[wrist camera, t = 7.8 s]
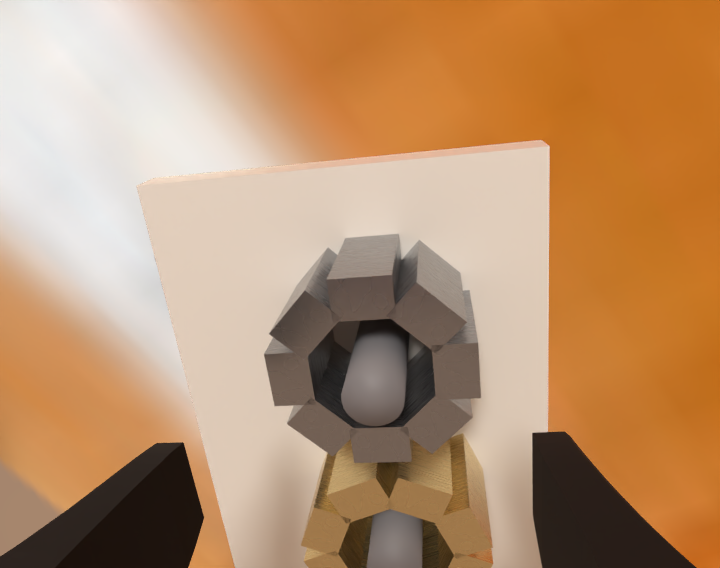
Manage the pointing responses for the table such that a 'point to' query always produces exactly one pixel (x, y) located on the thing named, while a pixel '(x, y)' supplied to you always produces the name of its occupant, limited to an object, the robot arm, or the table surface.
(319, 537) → the brass gear
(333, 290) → the steel gear
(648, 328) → the table surface
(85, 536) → the robot arm
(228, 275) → the gear board
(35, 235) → the table surface
